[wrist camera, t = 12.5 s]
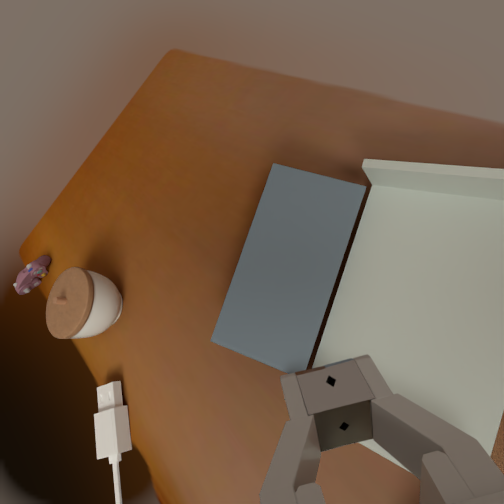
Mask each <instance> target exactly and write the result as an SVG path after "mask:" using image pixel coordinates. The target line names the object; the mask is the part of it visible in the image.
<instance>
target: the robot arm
mask: <svg viewBox="0 0 504 504" xmlns="http://www.w3.org/2000/svg"><path fill="white" fill-rule="evenodd" d="M280 380H281V385H282V389H283V393H284V397H285V401H286V405H287V409H288V414H289V418H290V421H286V423H285V426H284V429H283V431H282V434H281V437H280V440H279V442H278V445H277V448H276V450H275V453H274V456H273V459H272V461H271V464H270V467H269V470H268V472H267V475H266V478H265V481H264V483H263V486H262V489H261V491H260V494H259V495H260V503H261V504H325V500H324V497H323V493H322V490H321V487H320V486H319V485H318V484H316V483H315V481H316V476H317V471H318V466H319V462H320V457H321V452H323V451H327V450H330V449H334V448H337V447H341V446H344V445H348V444H352V443H357V442H361V441H366V440H370V439H373V440H374V441H375V442H376V443H377V444H378V445H380V446H381V447H382V448H383V449H384V450H386V451H387V452H388V453H389V454H390V455H391V456H393V457H394V458H395V459H396V460H397V461H398V462H400V463H401V464H402V465H403V466H404V467H405V468H407V469H408V470H409V471H410V472H411V473H412V474H414V475H415V476H416V477H417V478H418V479H420V480H421V484H420V502H419V504H504V475H503V473H502V472H501V471H500V469H499V468H498V467H497V465H496V464H495V463H494V461H493V460H492V459H491V458H490V456H489V455H488V454H487V452H486V451H485V450H484V448H483V447H482V446H481V444H480V443H479V442H478V440H477V439H475V438H473V437H472V436H470V435H468V434H467V433H465V432H463V431H461V430H460V429H458V428H456V427H455V426H453V425H451V424H449V423H448V422H446V421H444V420H443V419H441V418H439V417H438V416H436V415H434V414H432V413H431V412H429V411H427V410H426V409H424V408H422V407H420V406H419V405H417V404H415V403H414V402H412V401H410V400H408V399H407V398H405V397H403V396H402V395H400V394H398V393H397V394H393V393H392V391H391V390H390V388H389V386H388V385H387V383H386V382H385V380H384V378H383V377H382V375H381V373H380V372H379V370H378V368H377V367H376V365H375V363H374V362H373V360H372V358H371V357H370V356H369V355H368V354H366V355H362V356H359V357H355V358H350V359H346V360H342V361H339V362H335V363H331V364H327V365H323V366H321V367H317V368H312V369H308V370H303V371H299V372H295V373H291V374H286V375H282V376H280Z"/></svg>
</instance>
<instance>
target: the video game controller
mask: <svg viewBox="0 0 504 504" xmlns="http://www.w3.org/2000/svg"><path fill="white" fill-rule="evenodd" d="M50 262H51V259H50V257H49V256H45V255H44V256H41V257H39V258H38V259H37V260H35V261H33V262H31V263H30V264H28V265H27V267H26V268H25V269H24V270H22V271H21V272H20V273H19V274H18V276H17V280H16V283H15V284H14V285H13V286H15V289H16V291H17V292H18V293H19V294H20V295H22V294H25V293H28V292H29V291H30V290H31V289H32V288H34V287H36V286H38V285H39V284H40V283H41V280H40V279H39V278H43V277H44V276H46V275H47V274H48V271H47V270H46V267H47V266H48V265H49V264H50ZM34 277H39V278H34Z"/></svg>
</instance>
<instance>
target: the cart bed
mask: <svg viewBox="0 0 504 504" xmlns="http://www.w3.org/2000/svg"><path fill="white" fill-rule="evenodd" d="M362 168H363V170H364V172H365V173H366V175H367V177H368V179H369V180H370V182H371V184H372V187H371V190H370V193H369V196H368V199H367V202H366V205H365V208H364V211H363V214H362V217H361V220H360V224H359V227H358V230H357V233H356V236H355V239H354V242H353V245H352V248H351V251H350V254H349V257H348V260H347V263H346V266H345V269H344V272H343V275H342V278H341V281H340V284H339V287H338V290H337V293H336V296H335V299H334V302H333V305H332V309H331V312H330V315H329V318H328V321H327V324H326V327H325V330H324V333H323V336H322V339H321V342H320V345H319V348H318V351H317V354H316V357H315V360H314V363H313V366H312V368H317V367H321V366H323V365H327V364H331V363H335V362H339V361H342V360H346V359H350V358H355V357H359V356H362V355H366V354H368V355H369V356H370V357H371V358H372V360H373V362H374V363H375V365H376V367H377V368H378V370H379V372H380V373H381V375H382V377H383V378H384V380H385V382H386V383H387V385H388V386H389V388H390V390H391V391H392V393H393V394H397V393H398V394H400V395H402V396H403V397H405V398H407V399H408V400H410V401H412V402H414V403H415V404H417V405H419V406H420V407H422V408H424V409H426V410H427V411H429V412H431V413H432V414H434V415H436V416H438V417H439V418H441V419H443V420H444V421H446V422H448V423H449V424H451V425H453V426H455V427H456V428H458V429H460V430H461V431H463V432H465V433H467V434H468V435H470V436H472V437H473V438H475V439H477V440H478V442H479V443H480V444H481V446H482V447H483V448H484V450H485V451H486V452H487V454H488V455H489V456H491V453H492V449H493V446H494V442H495V439H496V435H497V432H498V428H499V425H500V421H501V418H502V414H503V411H504V169H497V168H483V167H470V166H456V165H442V164H429V163H415V162H402V161H388V160H374V159H364V162H363V165H362ZM284 400H285V399H284ZM359 443H360V444H362V445H364V446H366V447H367V448H369V449H371V450H373V451H374V452H376V453H378V454H379V455H381V456H383V457H385V458H386V459H388V460H390V461H392V462H393V463H395V464H397V465H399V466H400V467H402V468H404V469H405V470H407V471H409V470H408V469H407V468H405V467H404V466H403V465H402V464H401V463H400V462H398V461H397V460H396V459H395V458H394V457H393V456H391V455H390V454H389V453H388V452H387V451H386V450H384V449H383V448H382V447H381V446H380V445H378V444H377V443H376V442H375V441H374V440H373V439H370V440H366V441H361V442H359ZM409 472H410V471H409Z"/></svg>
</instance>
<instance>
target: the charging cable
mask: <svg viewBox="0 0 504 504" xmlns="http://www.w3.org/2000/svg"><path fill="white" fill-rule="evenodd" d="M97 396H98V409H99V413H97V414H94V421H95V435H96V450H97V459H101V458H105V457H109V464H113V475H114V487H115V499H116V504H122V495H121V484H120V473H119V461H121V453H122V452H125V451H128V450H131V449H132V444H131V437H130V427H129V417H128V407H127V405H126V406H123V400H122V390H121V381H115V382H111V383H108V384H106V385H103V386H100V387H98V388H97Z"/></svg>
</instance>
